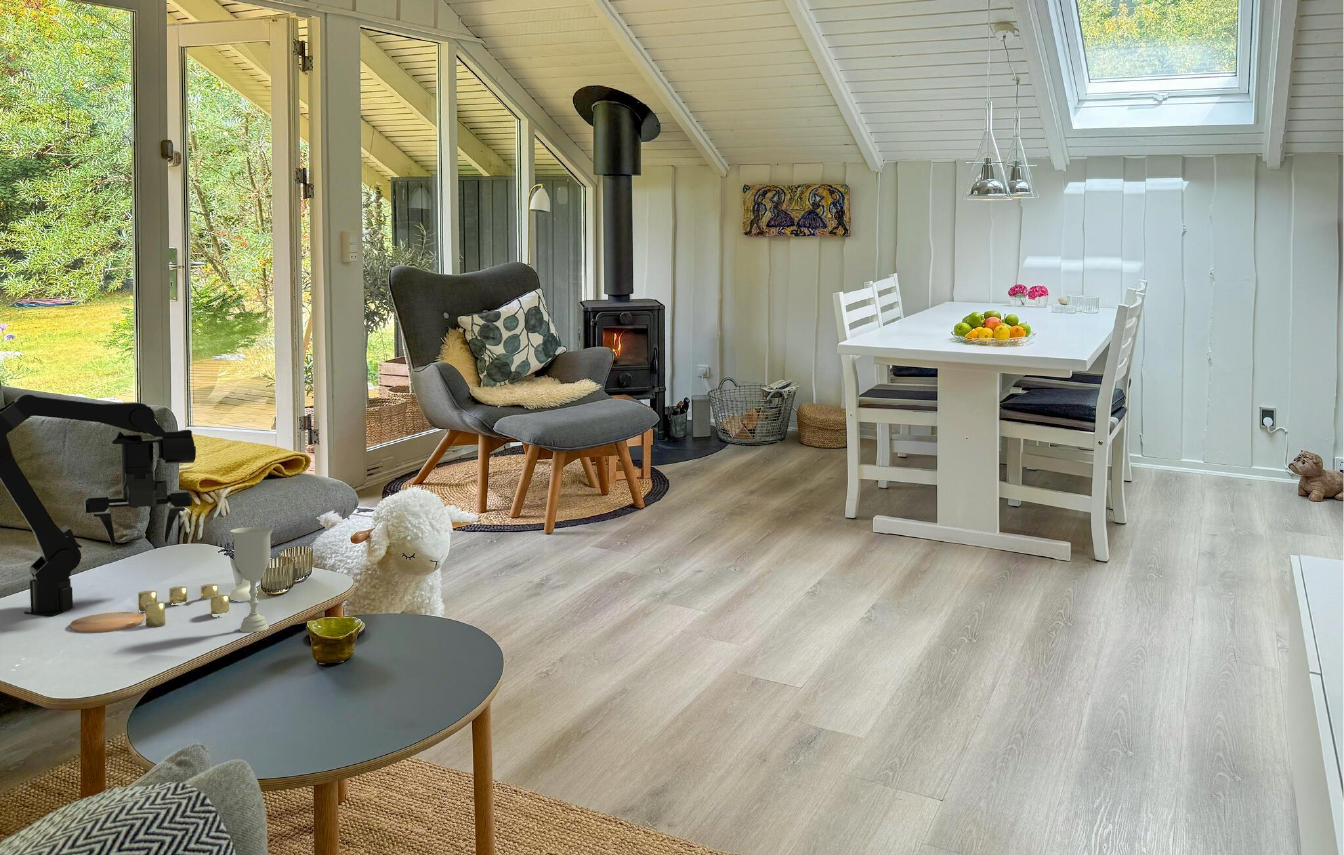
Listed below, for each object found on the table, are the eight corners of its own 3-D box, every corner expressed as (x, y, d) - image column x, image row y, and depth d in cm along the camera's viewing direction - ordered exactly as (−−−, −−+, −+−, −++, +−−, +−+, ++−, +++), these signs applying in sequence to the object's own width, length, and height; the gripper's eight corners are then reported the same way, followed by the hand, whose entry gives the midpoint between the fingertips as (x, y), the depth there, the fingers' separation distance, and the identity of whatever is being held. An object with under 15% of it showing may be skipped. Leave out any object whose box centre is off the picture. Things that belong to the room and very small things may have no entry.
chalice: (282, 624, 194) (280, 527, 192) (264, 633, 187) (262, 533, 186) (244, 623, 194) (241, 526, 193) (225, 632, 187) (222, 532, 186)
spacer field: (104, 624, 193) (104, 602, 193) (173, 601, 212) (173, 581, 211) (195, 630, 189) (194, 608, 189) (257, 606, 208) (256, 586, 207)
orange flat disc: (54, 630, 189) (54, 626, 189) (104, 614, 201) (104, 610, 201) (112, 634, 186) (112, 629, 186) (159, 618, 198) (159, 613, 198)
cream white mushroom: (225, 605, 209) (224, 565, 208) (257, 600, 213) (256, 561, 212) (234, 611, 204) (233, 570, 204) (267, 606, 208) (266, 566, 207)
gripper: (86, 472, 196) (89, 555, 197) (195, 467, 206) (197, 546, 207) (82, 467, 205) (84, 546, 206) (186, 462, 215) (188, 538, 216)
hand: (139, 544), depth 208 cm, fingers open, 9 cm apart
